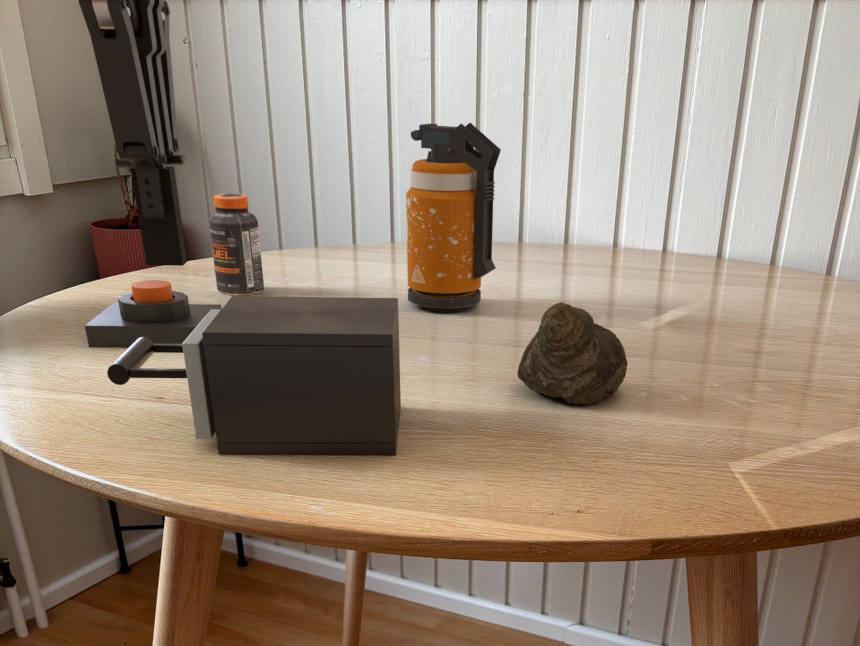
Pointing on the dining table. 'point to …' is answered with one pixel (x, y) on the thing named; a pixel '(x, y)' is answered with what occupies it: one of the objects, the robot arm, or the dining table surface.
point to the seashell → (573, 357)
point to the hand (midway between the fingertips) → (166, 263)
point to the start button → (152, 291)
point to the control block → (146, 321)
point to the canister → (450, 217)
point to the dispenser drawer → (174, 372)
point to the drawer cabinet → (305, 375)
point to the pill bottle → (236, 246)
